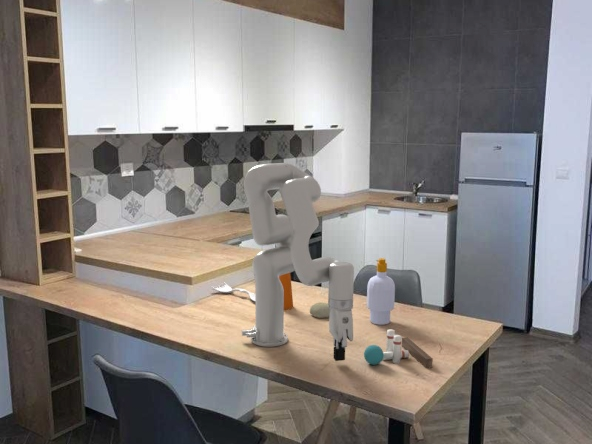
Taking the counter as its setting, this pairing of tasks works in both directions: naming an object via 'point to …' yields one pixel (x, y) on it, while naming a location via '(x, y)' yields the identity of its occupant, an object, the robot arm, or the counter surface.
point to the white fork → (228, 289)
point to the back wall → (417, 352)
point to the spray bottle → (287, 290)
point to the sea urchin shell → (320, 310)
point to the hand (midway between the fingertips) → (339, 359)
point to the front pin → (390, 354)
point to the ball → (373, 354)
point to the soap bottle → (380, 295)
